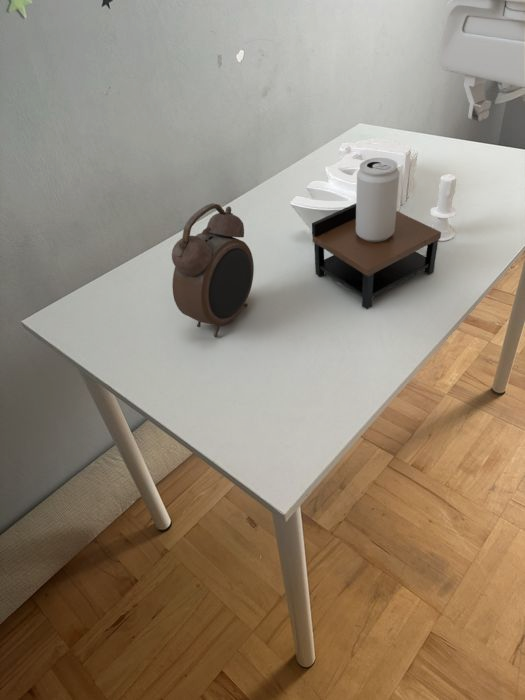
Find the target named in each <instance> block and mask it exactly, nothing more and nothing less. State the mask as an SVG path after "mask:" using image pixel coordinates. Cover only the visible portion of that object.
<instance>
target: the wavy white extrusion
mask: <svg viewBox="0 0 525 700" xmlns="http://www.w3.org/2000/svg"><path fill="white" fill-rule="evenodd" d="M338 149H339V157H340V159H339V160H338V161H337V162H336V163H335V164H331V165H328V166H325V167H324V170H325V173H326V176H327V177H326V178H327V181H321V180H312V181H311V182H310V183H308V184H307V186H306V190H307V192H308V194H309V195H310V197H311V198H308V197H305V196H304V197H303V196H300V195H296V196H295V197H294V198H293V199H292V200H291V201H290V202H289V205H290V206H291V207H292V209H293V210H294V211H295V213H296V214H297V215H298V216H299V218H300V219H301V220H302V221H303V222H304V224H305V225H306V227H307V228H308V229H309V230H310V231H311V232H312V223H314V222H316V221H318V220H320V219H322V218H325V217H327V216H329V215H331V214H333V213H336V212H338V211H340V210H342V209H344V208H347V207H349V206H351V205H353V204H355V203H356V197H357V173H358V171H359V169H360V164H361V163H362V162H363V161H365V160H368V159H372V158H388V159H392V160H394V161H395V162H397V164H398V167H397V169H398V170H399V173H400V174H399V185H398V197H397V209H396V211H398V212H400V210H401V206H402V205H405V203H406V200H407V199H408V198H409V197H410V196H411V195H412V193H413V187H414V181H415V174H416V167H417V162H418V156H419V152H417V151H416V149H414V148H412V147H411V146H408V145H406V144H404V143H401V142H397V141H393V140H389V139H382V138H370V139H368V138H367V139H364V140H359V141H358V142H357V141H356V142H352V141H343V142H342V143H341V145H340V146H339V148H338Z"/></svg>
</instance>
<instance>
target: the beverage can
mask: <svg viewBox="0 0 525 700" xmlns="http://www.w3.org/2000/svg"><path fill="white" fill-rule="evenodd" d="M397 167H398V164H397V162H395V161H394V160H392V159H388V158H372V159H368V160H365V161H363V162H362V163H361V164H360V169H359V171H358V173H357V197H356V233H357V235H358V236H359V237H361V238H362V239H364V240H366V241H370V242H380V241H384V240H386V239H388V238H389V237H390V236H392V235H393V233H394V231H395V220H396V209H397V197H398V185H399V174H400V173H399V170H398V169H397Z"/></svg>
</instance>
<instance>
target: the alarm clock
mask: <svg viewBox="0 0 525 700" xmlns="http://www.w3.org/2000/svg"><path fill="white" fill-rule="evenodd" d="M214 209H215V210H216V211H217V213H215V214H213V215H212V216H211V217H210V219H209V221H208V222H207V226H206V227H205V229H203V230H202V232H200V233H197V234H196V235H191V230H192V228H193V226H194V225H195V224H196V223H197V221H198V220H199V219H200V218H201V217H203V216H204V215H205V214H206V213H208V212H210V211H211V210H214ZM244 225H245V224H244V222H243V220H242V219H241V218H240V217H239V216H237V215H235V214H234V213H233V212H232V207H231V206H229V205H228V206H227V207H225V210H224V209H223V207H222V206H221V205H220V204H218V203H215V202H214V203H213V202H212V203H209V204H206V205H204V206H202V207H201V208H199V210H198V211H196V212H195V213H194V214H193V215H192V216H190V218H189V219H188V220H187V221H186V223H185V225H184V227H183V232H182V237H181V238H180V239H179V240H178V241H176V243H175V244H174V245H173V247H172V250H171V261H172V264H173V265H174V269H173V275H172V296H173V299H174V303H175V305H176V307H177V309H178V310H179V311H180V312H181V314H183V315H184V316H187V317H188V318H191V319H192V320H194V321H197V324H196V326H197V328H200V327H201V323H203V324H207V325H212V326H214V334H213V337H214V338H217V337H219V331H220V327H221V326H226V325H227V324H229V323H231V322H232V321H234V320H235V319H236V317H237V316H238V315H239V314H240V313H241V311H242V310H243V308H248V307H249V303H246V302H247V300H248V298H249V296H250V293H251V290H252V286H253V281H254V273H255V272H254V271H255V265H254V257H253V254H252V250H251V249H250V247H249V245H248V244H247V243H246V242H245V241H243V240H241V239H239V238H245V226H244Z"/></svg>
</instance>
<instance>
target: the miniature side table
mask: <svg viewBox="0 0 525 700" xmlns="http://www.w3.org/2000/svg"><path fill="white" fill-rule="evenodd" d="M311 234H312V236H311V237H312V238H311V239H312V242H313V243H314V244H313V246H314V267H315V275H316V276H317V277H319V278H321V277H322V276H324V275H325V274H327V275H328V276H330V277H331V278H333V279H334V280H336V281H337V282H338V283H340V284H341V285H343V286H344V287H346V288H348V289H349V290H350V291H352V292H353V293H355V295H358V296H359V297H361V307H362V308H364V309H365V310H368V309H370V308H372V306H373V298H374V297H376V296H378V295H380V294H382V293H384V292H386V291H387V290H390V289H391V288H393V287H394V286H397V285H398V284H400V283H403V282H404V281H405V280H407V279H409V278H411V277H413V276H415V275H417V274H419V273H421V272H422V271H423V273H424V274H426V275H428V276H430V275H432V274H433V273H434V271H435V265H436V259H437V253H438V246H439V241H438V239H440V237H441V232H440V231H438V230H435V229H433V228H431V226H429V225H427V224H425V223H423V222H420V221H419V220H417V219H415V218H412V217H411V216H408V215H406V214H404V213H403V212H400V211H399V212H398V211H396V220H395V231H394V233H393V235H392V236H390V237H389V238H388V239H386V240H384V241H380V242H370V241H366V240H364V239H362V238H361V237H359V236H358V235H357V233H356V203H355V204H353V205H351V206H349V207H347V208H344V209H342V210H340V211H338V212H336V213H333V214H331V215H329V216H327V217H325V218H322V219H320V220H318V221H316V222H314V223H312V231H311ZM424 247H426V252H425V255H424V254H422V253H420V252H418V251H419V250H421V249H423V248H424ZM325 251H326V252H328V253H329V254H331V256H329V257H326V258H325Z"/></svg>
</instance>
